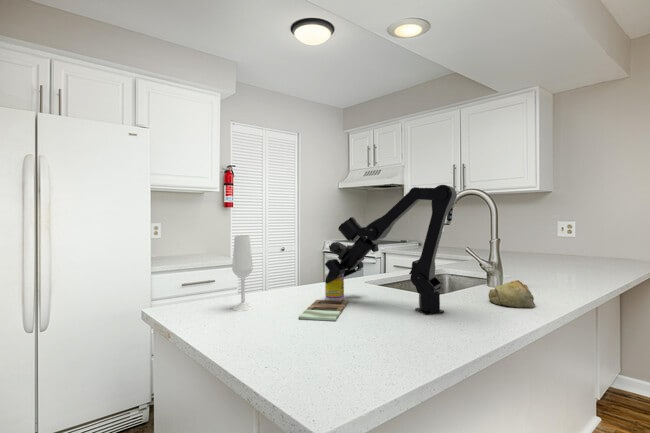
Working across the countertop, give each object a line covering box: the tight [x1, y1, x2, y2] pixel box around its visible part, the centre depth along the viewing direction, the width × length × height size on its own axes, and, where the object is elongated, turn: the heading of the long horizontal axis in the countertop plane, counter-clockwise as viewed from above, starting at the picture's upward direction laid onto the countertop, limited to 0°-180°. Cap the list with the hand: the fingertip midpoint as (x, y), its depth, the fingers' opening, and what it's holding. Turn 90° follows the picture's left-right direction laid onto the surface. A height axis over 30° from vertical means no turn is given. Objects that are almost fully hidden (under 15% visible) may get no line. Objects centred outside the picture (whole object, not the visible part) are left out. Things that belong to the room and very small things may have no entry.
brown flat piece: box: [298, 299, 349, 322], centre depth 117 cm, size 22×11×1 cm, turn 167°
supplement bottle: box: [324, 268, 345, 301], centre depth 132 cm, size 7×7×13 cm
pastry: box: [488, 279, 536, 309], centre depth 123 cm, size 14×12×8 cm
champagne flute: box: [231, 234, 254, 312], centre depth 122 cm, size 7×7×24 cm
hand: (331, 280), depth 133 cm, fingers closed on supplement bottle, 7 cm apart
